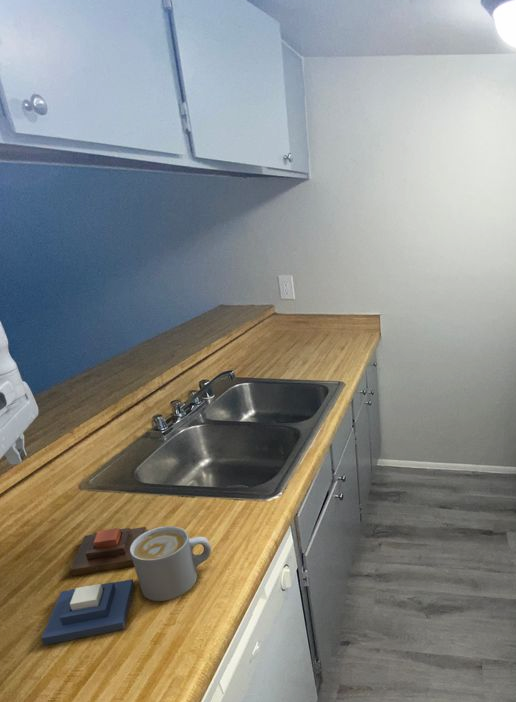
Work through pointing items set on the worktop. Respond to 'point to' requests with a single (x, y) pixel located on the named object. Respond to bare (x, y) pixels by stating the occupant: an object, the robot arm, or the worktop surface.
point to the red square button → (107, 538)
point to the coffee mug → (167, 561)
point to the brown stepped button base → (105, 553)
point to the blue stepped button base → (90, 614)
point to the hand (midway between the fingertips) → (18, 460)
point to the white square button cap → (86, 597)
